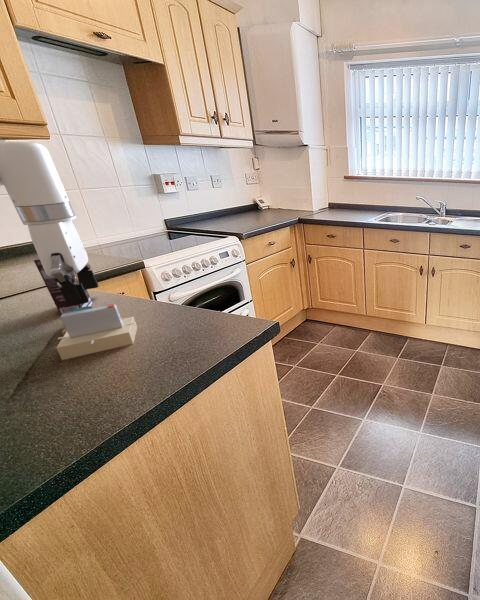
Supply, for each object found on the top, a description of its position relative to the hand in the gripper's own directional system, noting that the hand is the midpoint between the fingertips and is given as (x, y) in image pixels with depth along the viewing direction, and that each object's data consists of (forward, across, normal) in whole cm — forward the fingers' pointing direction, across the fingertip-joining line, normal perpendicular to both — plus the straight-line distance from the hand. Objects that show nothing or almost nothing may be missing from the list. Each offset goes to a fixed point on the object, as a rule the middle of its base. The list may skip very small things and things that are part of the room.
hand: (84, 295), depth 71 cm
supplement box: (+11, -25, -10) cm, 29 cm away
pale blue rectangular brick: (+8, 0, 0) cm, 8 cm away
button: (+8, -11, -4) cm, 14 cm away
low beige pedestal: (+11, 0, 0) cm, 11 cm away
